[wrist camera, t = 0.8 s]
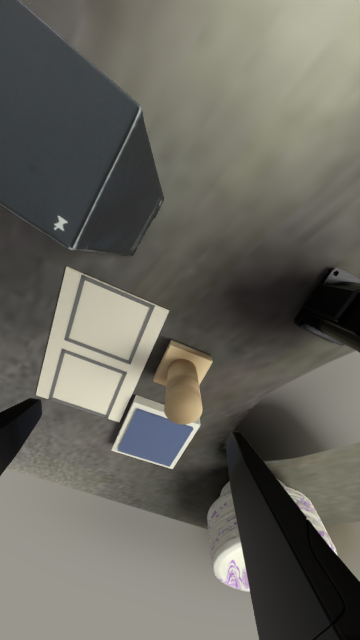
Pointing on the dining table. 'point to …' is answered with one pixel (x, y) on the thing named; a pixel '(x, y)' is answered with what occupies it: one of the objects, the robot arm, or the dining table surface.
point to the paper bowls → (227, 538)
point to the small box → (70, 142)
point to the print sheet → (98, 345)
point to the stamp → (182, 381)
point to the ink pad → (153, 434)
